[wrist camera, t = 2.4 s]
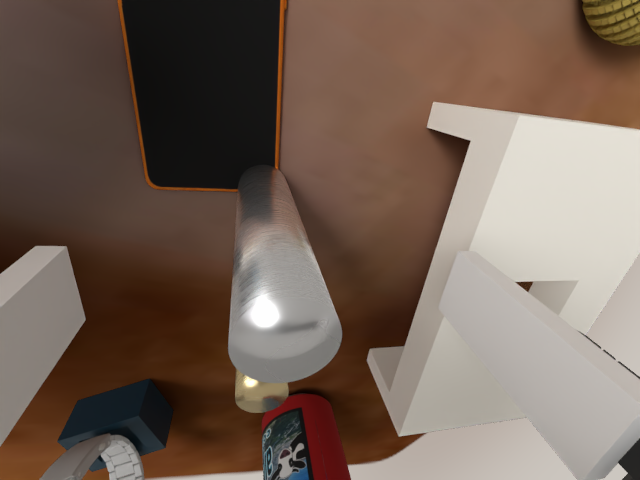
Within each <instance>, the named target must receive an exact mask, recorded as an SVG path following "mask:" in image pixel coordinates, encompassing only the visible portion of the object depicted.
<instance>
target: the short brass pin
mask: <svg viewBox="0 0 640 480" xmlns="http://www.w3.org/2000/svg"><path fill="white" fill-rule="evenodd" d="M288 393H289V390H288V382H287V383H266V382H261V381H257V380H254V379H251V378H249V377H247V376H245V375H244V374H242V373H241V372H240V371H239V370H238V369H237V368H236V385H235V401H236V404H237V405H238V406H239V407H240V408H241V409H243V410H245V411H247V412H252V413H262V412H267V411H270V410H273V409H275V408H277V407H279V406H280V405H281V404H283V403H284V401H285V400H286V399H287V397H288Z"/></svg>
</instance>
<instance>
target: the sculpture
mask: <svg viewBox="0 0 640 480" xmlns="http://www.w3.org/2000/svg"><path fill="white" fill-rule="evenodd" d="M582 2H583V3H584V4H583V5H582V6H583V12H584V13H585V16H586V17H585V18H586V20H587V22H588V23H589V24H590V27H591V28H592V30H593V31H594V32H595V33H596V34H598V36H599V37H600V38H603V39H604V40H607V41H609V42H610V43H611V42H612V43H614V44H619V45H623V46H633V45H640V0H582ZM628 16H629V17H628Z"/></svg>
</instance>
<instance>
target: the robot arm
mask: <svg viewBox="0 0 640 480" xmlns="http://www.w3.org/2000/svg"><path fill="white" fill-rule="evenodd" d="M438 308H439V310H440V311H441V312H442V313H443V315H444V316H445V317H446V318H447V320H448V321H449V322H450V323H451V324H452V326H453V327H454V328H455V329H456V331H457V332H458V333H459V334H460V336H461V337H462V338H463V339H464V340H465V342H466V343H467V344H468V345H469V347H470V348H471V349H472V350H473V352H474V353H475V354H476V355H477V356H478V358H479V359H480V360H481V361H482V363H483V364H484V365H485V366H486V368H487V369H488V370H489V371H490V373H491V374H492V375H493V376H494V377H495V379H496V380H497V381H498V382H499V384H500V385H501V386H502V387H503V389H504V390H505V391H506V392H507V393H508V395H509V396H510V397H511V398H512V400H513V401H514V402H515V403H516V405H517V406H518V407H519V408H520V410H521V411H522V412H523V413H524V414H525V416H526V417H527V418H528V419H529V421H530V422H531V423H532V424H533V426H534V427H535V428H536V429H537V430H538V432H539V433H540V434H541V435H542V437H543V438H544V439H545V440H546V441H547V442H548V444H549V445H550V447H551V448H552V449H553V450H554V451H555V453H556V454H557V455H558V456H559V458H560V459H561V460H562V461H563V463H564V464H565V465H566V466H567V467H568V469H569V470H570V471H571V472H572V474H573V475H574V476H575V477H576V479H577V480H597V479H602V478H605V477H606V476H607V475H608V474H609V472H610V471H611V470H612V469H613V468H614V467H615V466H616V465H617V464H618V463H619V464H620V465H621V466H622V467H623V468H624V469H625V470H626V471H627V472H628V474H627V475H626V476H625V477H624V478H623V479H622V480H640V377H639V376H637V375H636V374H635V373H634V372H632V371H631V370H630V369H628V368H627V367H626V366H624V365H623V364H622V363H621V362H617V361H616V360H615V358H614V357H613V356H612V355H610V354H609V353H608V352H606V351H605V350H601V347H600V346H599V345H597V344H596V343H595V342H593V341H592V340H591V339H590V338H588V337H587V336H586V335H584V334H583V333H581V332H579V331H578V330H576V329H574V328H573V327H572V326H571V325H569V324H568V323H567V322H565V321H564V320H563V319H562V318H560V317H559V316H558V315H556V314H555V313H554V312H553V311H551V310H550V309H549V308H547V307H546V306H545V305H544V304H542V303H541V302H540V301H538V300H537V299H536V298H535V297H533V296H532V295H531V294H529V293H528V292H527V291H526V290H524V289H523V288H522V287H521V286H519V285H518V284H517V283H515V282H514V281H513V280H512V279H510V278H509V277H508V276H506V275H505V274H504V273H503V272H501V271H500V270H499V269H497V268H496V267H495V266H494V265H492V264H491V263H490V262H488V261H487V260H486V259H485V258H483V257H482V256H481V255H479V254H478V253H477V252H476V251H458V252H457V255H456V258H455V261H454V264H453V266H452V269H451V272H450V275H449V278H448V281H447V283H446V286H445V289H444V292H443V295H442V298H441V300H440V303H439V306H438ZM85 320H86V318H85V314H84V310H83V307H82V303H81V299H80V295H79V292H78V288H77V284H76V280H75V276H74V273H73V269H72V265H71V261H70V258H69V254H68V250H67V246H35V247H34V248H32V249H31V250H30V251H29V252H27V253H26V254H25V255H24V256H22V257H21V258H20V259H19V260H17V261H16V262H15V263H14V264H12V265H11V266H10V267H8V268H7V269H6V270H5V271H3V272H2V273H1V274H0V446H1V445H2V443H3V442H4V440H5V439H6V437H7V436H8V434H9V433H10V431H11V430H12V428H13V427H14V425H15V424H16V422H17V421H18V419H19V418H20V417H21V415H22V414H23V412H24V411H25V409H26V408H27V406H28V405H29V403H30V402H31V400H32V399H33V397H34V396H35V394H36V393H37V391H38V390H39V388H40V387H41V385H42V384H43V382H44V381H45V380H46V378H47V377H48V375H49V374H50V372H51V371H52V369H53V368H54V366H55V365H56V363H57V362H58V360H59V359H60V357H61V356H62V354H63V353H64V351H65V350H66V348H67V347H68V345H69V344H70V342H71V341H72V340H73V338H74V337H75V335H76V334H77V332H78V331H79V329H80V328H81V326H82V325H83V323H84V322H85Z"/></svg>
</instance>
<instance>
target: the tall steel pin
mask: <svg viewBox="0 0 640 480" xmlns="http://www.w3.org/2000/svg"><path fill="white" fill-rule="evenodd" d="M341 341H342V328H341V324H340V321H339V319H338V316H337V313H336V311H335V308H334V305H333V303H332V300H331V297H330V295H329V292H328V289H327V287H326V284H325V282H324V279H323V276H322V274H321V271H320V268H319V266H318V263H317V260H316V258H315V255H314V252H313V250H312V247H311V245H310V242H309V239H308V237H307V234H306V231H305V229H304V226H303V223H302V221H301V218H300V215H299V213H298V210H297V207H296V205H295V202H294V200H293V197H292V194H291V192H290V189H289V186H288V184H287V181H286V179H285V176H284V175H283V173H282V172H281V171H280V170H279V169H276V168H274V167H272V166H268V165H257V166H253V167H251V168H249V169H248V170H246V171H245V172H244V173H243V175H242V176H241V178H240V180H239V184H238V196H237V212H236V228H235V244H234V260H233V276H232V292H231V309H230V325H229V341H228V352H229V356H230V359H231V361H232V363H233V365H234V366H235V367H236V368H237V369H238V370H239V371H240V372H241V373H242V374H244V375H245V376H247V377H249V378H251V379H254V380H257V381H261V382H266V383H287V382H292V381H297V380H300V379H303V378H306V377H308V376H310V375H312V374H314V373H316V372H317V371H319V370H320V369H322V368H323V367H324V366H326V365H327V364H328V363H329V362H330V361H331V360H332V358H333V357H334V356H335V354H336V353H337V351H338V349H339V347H340V344H341Z"/></svg>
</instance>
